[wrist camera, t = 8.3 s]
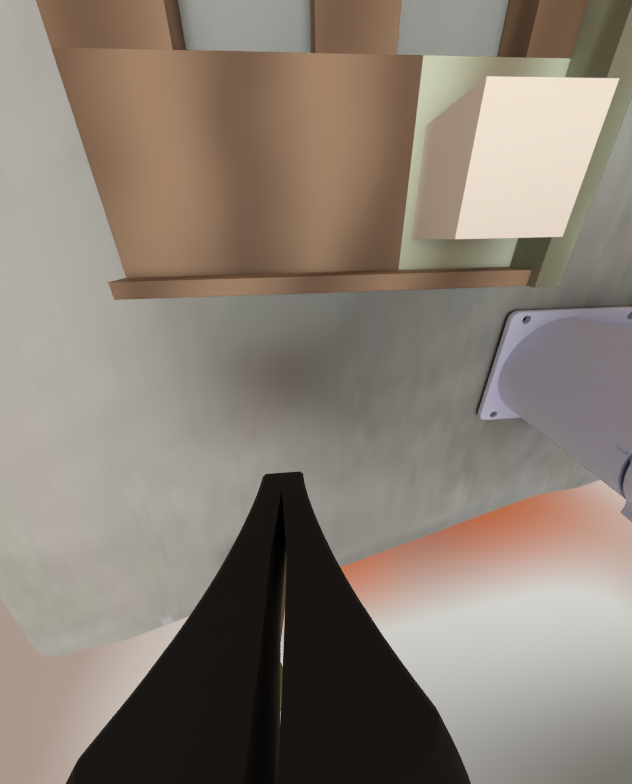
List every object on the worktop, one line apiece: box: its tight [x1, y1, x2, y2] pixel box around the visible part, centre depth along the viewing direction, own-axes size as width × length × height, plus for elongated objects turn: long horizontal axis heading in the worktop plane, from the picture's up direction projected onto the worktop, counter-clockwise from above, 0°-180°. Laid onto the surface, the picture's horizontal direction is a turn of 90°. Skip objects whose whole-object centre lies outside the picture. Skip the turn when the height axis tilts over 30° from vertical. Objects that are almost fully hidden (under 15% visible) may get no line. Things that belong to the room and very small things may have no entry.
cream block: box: [411, 76, 620, 239], centre depth 11 cm, size 4×4×4 cm
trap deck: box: [36, 0, 632, 300], centre depth 11 cm, size 20×14×4 cm
